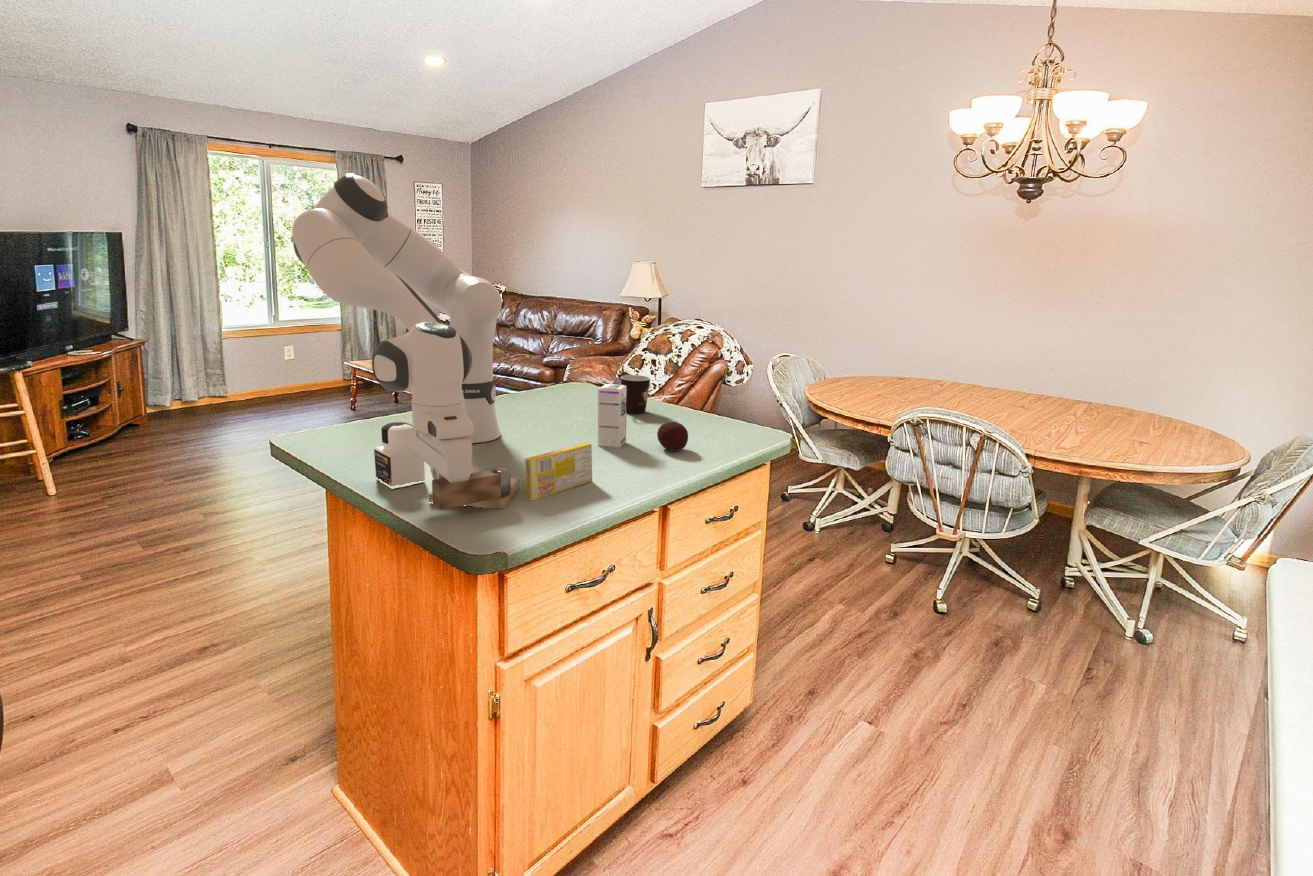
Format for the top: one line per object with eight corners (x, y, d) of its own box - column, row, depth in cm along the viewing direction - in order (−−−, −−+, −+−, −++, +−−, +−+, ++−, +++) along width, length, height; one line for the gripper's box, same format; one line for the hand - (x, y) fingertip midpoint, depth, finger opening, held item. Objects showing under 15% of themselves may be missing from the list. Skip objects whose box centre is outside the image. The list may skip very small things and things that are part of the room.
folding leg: (505, 489, 139) (504, 466, 138) (514, 494, 136) (514, 471, 135) (432, 503, 130) (431, 479, 129) (440, 510, 127) (439, 485, 126)
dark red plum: (673, 456, 171) (675, 427, 170) (650, 449, 177) (651, 420, 175) (694, 450, 177) (696, 422, 175) (670, 443, 182) (672, 416, 180)
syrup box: (620, 448, 176) (622, 389, 172) (596, 446, 177) (597, 387, 173) (626, 442, 182) (627, 384, 178) (603, 440, 183) (604, 382, 179)
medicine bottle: (375, 481, 147) (371, 423, 144) (409, 474, 152) (406, 418, 149) (391, 490, 142) (387, 430, 139) (425, 483, 147) (423, 425, 144)
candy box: (585, 480, 153) (586, 441, 151) (593, 482, 152) (593, 444, 149) (524, 498, 141) (524, 457, 139) (531, 501, 140) (531, 459, 138)
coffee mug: (636, 407, 219) (637, 374, 216) (655, 413, 212) (656, 379, 210) (605, 411, 212) (605, 377, 209) (623, 417, 205) (624, 382, 203)
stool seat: (429, 504, 136) (428, 494, 135) (451, 483, 147) (450, 473, 147) (503, 509, 135) (503, 498, 134) (519, 487, 146) (519, 478, 146)
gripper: (402, 405, 135) (405, 476, 139) (441, 432, 119) (443, 512, 123) (435, 402, 138) (438, 472, 142) (478, 428, 123) (479, 505, 126)
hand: (441, 490), depth 132 cm, fingers closed
